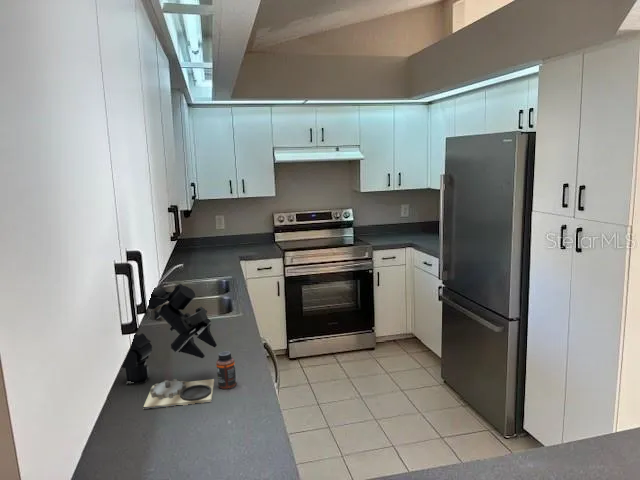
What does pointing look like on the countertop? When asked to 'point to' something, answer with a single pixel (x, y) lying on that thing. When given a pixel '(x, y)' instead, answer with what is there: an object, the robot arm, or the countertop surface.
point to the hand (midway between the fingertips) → (210, 351)
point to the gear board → (180, 393)
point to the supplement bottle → (226, 370)
